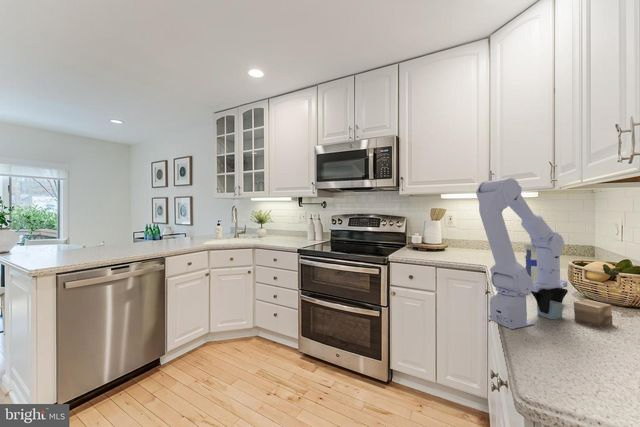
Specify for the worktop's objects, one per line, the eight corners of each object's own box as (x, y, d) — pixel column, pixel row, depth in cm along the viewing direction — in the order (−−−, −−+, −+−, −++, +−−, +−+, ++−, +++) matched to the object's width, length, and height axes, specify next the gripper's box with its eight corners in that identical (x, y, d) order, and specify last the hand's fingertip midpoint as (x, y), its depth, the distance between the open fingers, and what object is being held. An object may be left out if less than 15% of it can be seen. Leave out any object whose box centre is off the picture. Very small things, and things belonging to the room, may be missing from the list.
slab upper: (598, 318, 80) (598, 307, 80) (574, 311, 85) (573, 301, 85) (611, 315, 82) (611, 305, 82) (586, 308, 87) (586, 299, 87)
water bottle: (554, 290, 116) (552, 230, 116) (536, 291, 115) (534, 231, 115) (536, 285, 125) (534, 229, 125) (519, 286, 123) (517, 230, 123)
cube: (552, 319, 86) (552, 304, 86) (537, 314, 91) (537, 300, 91) (562, 317, 88) (562, 303, 88) (547, 312, 92) (546, 299, 92)
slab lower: (599, 328, 80) (599, 318, 80) (574, 321, 85) (574, 311, 85) (612, 325, 82) (612, 315, 82) (587, 318, 87) (587, 308, 87)
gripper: (545, 273, 83) (547, 319, 83) (578, 269, 88) (579, 312, 88) (522, 269, 90) (523, 311, 90) (553, 265, 94) (554, 305, 94)
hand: (549, 311), depth 89 cm, fingers closed on cube, 4 cm apart
